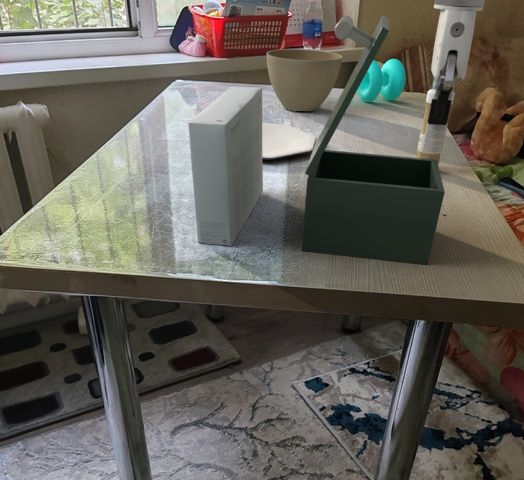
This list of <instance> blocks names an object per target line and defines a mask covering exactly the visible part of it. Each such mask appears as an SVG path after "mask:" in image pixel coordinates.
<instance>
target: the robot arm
mask: <svg viewBox="0 0 524 480" xmlns="http://www.w3.org/2000/svg"><path fill="white" fill-rule="evenodd" d="M485 1H486V0H434V4H433V9H436V10H440V12H439V16H438V23H437V28H436V34H435V39H434V46H433V50H432V51H433V52H432V60H431V68H430V70H431V73H432V74H431V75H432V76H433V79H432V83H431V88H430V90H431V89H435V95H434V99H432V102H431V107H430V112H429V117H428V124H432V125H446V124H447V121H448V122H449V118H448V116H449V117H450V114H449V111H450V112H451V109H450V106H451V102H452V100H451V98H452V93H453V92H454V87H455V81H456V78H457V79H458V81H459V82H463V81H464V80H465V79H466V74H467V69H468V63H469V58H470V55H471V54H470V53H471V49H472V43H473V37H474V32H475V25H476V17H477V12H482V11H483V10H484V5H485ZM451 107H452V106H451Z"/></svg>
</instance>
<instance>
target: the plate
mask: <svg viewBox="0 0 524 480" xmlns="http://www.w3.org/2000/svg"><path fill="white" fill-rule="evenodd" d="M316 142H317V136H316V135H315V134H313V133H311V132H307V131H305V130H303V129H299V128H298V127H295V126H291V125H289V124H282V123H272V122H271V123H270V122H262V160H267V161H268V160H269V161H270V160H271V161H272V160H278V159H284V158H289V157H294V156H299V155H304V154H309V153H312V152H313V149H314V146H315V143H316Z"/></svg>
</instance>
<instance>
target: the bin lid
mask: <svg viewBox="0 0 524 480" xmlns="http://www.w3.org/2000/svg"><path fill="white" fill-rule="evenodd" d="M389 23H390V21H389V18H388V17H386V16H385V15H381V18H380V19H379V21H378V23H377V25H376V27H375V29H374V31H373V33H372V35H370V34H369V33H367V32H365V31H364V30H362V29H361V28H359V27H357V26H356V25H354V24H355V23H354V19H353V18H352V17H350V16H349V15H344V16H342V17H341V18H340V19H339V20H338V22H337V24H336V25H335V27H334V34H335V37H336V38H337V39H338V40H341V41H345V40H347V39H350V40H352V41H353V42H355V43H356V44H358V45H360V46H362V47H363V48H364V49H363V52H362V54H361V56H360V58H359V60H358V61H357V64H356V65H355V67H354V68H353V71H352V73H351V75H350V77H349V79H348V80H347V82H346V85H345V86H344V88H343V89H342V92H341V94H340V96H339V98H338V100H337V102H336V103H335V105H334V107H333V109H332V111H331V113H330V115H329V117H328V119H327V120H326V123H325V124H324V126H323V128H322V130H321V132H320V134H319V136H318V138H317V139H316V141H315V144H314V148H313V151H311V154H310V157H309V160H308V163H307V166H306V169H305V171H304V174H305V175H307V177H308V176H311V175H312V173H313V171H314V169H315V167H316V166H317V164H318V162H319V160H320V158H321V156H322V154H323V153H324V151H325V150H327V147H328V145H329V143H330V142H331V140H332V138H333V136H334V134H335V133H336V130H337V128H338V127H339V125H340V123H341V121H342V119H343V117H344V116H345V113H346V112H347V110H348V109H349V106H350V104H351V103H352V101H353V99H354V98H355V96H356V93H357V90H358V88H359V86H360V84H361V82H362V80H363V78H364V77H365V75H366V73H367V71H368V69H369V67H370V65H371V64H372V62H373V60H374V61H375V58H376V56H377V54H378V52H379V51H380V49H381V47H382V45H383V43H384V41H385V39H386V38H387V36H388V34H389V32H390V24H389Z"/></svg>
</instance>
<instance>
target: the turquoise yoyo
mask: <svg viewBox="0 0 524 480" xmlns="http://www.w3.org/2000/svg"><path fill="white" fill-rule="evenodd" d="M405 85H406V69H405V67H404V65H403V63H402V62H401V61H400V60H399V59H397V58H391V59H389V60H387V61H386V62H385V63H384V64H383V65H382V67H381V66H380V64H379V63H378V62H377V61H376V60H375V59H374V60H373V62H372V64H371V65H370V67H369V69H368V71H367V73H366V75H365V77H364V78H363V80H362V82H361V84H360V86H359V88H358V90H357V91H356V93H357V95H358V97H359V98H360V100H361V101H363V102H364V103H371V102H373V101H375V100H376V99H377V98H378V97H379V95H381V96H382V98H383V99H384V100H385V101H390V102H393V101H395V100H397V99H398V98H399V97H400V96H401V95H402V93H403V91H404V88H405Z"/></svg>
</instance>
